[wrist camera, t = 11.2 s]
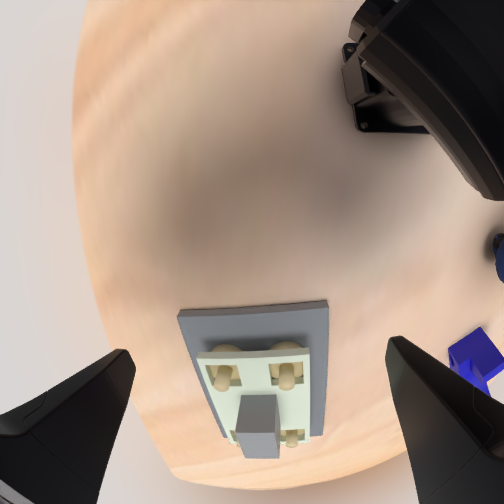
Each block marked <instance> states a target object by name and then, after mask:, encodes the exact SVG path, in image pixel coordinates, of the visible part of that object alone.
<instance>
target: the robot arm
mask: <svg viewBox="0 0 504 504" xmlns="http://www.w3.org/2000/svg"><path fill="white" fill-rule="evenodd" d="M348 37H350V38H351V39H352V40H354V41H355V42H356V43H346V44H345V45H344V46H343V48H342V53H343V57H344V62H345V65H344V66H343V67H342V74H343V79H344V84H345V90H346V96H347V102H348V103H349V104H351V105H352V106H353V113H354V120H355V126H356V129H357V130H358V131H359V132H362V133H415V134H431V135H432V136H433V137H434V139H435V140H436V141H437V142H438V143H439V145H440V146H441V147H442V148H443V150H444V151H445V152H446V153H447V155H448V156H449V157H450V159H451V160H452V161H453V163H454V164H455V165H456V167H457V168H458V170H459V171H460V172H461V174H462V175H463V177H464V178H465V180H466V181H467V182H468V183H469V184H470V185H471V186H472V187H473V188H475V189H476V190H477V191H479V192H480V193H481V195H482V197H484V198H486V199H490V200H494V201H504V0H366V1H365V2H364V3H363V5H362V6H361V7H360V8H359V10H358V11H357V13H356V14H355V16H354V17H353V19H352V21H351V26H350V31H349V36H348ZM358 42H359V43H358ZM347 48H351V49H352V51H353V52H349V51H348V50H347ZM361 122H364V123H365V124H366V128H365V129H363V128H362V127H361V126H360V124H361ZM385 362H386V367H387V372H388V377H389V381H390V387H391V392H392V397H393V401H394V405H395V408H396V412H397V415H398V418H399V422H400V425H401V429H402V432H403V436H404V440H405V443H406V447H407V451H408V455H409V459H410V463H411V467H412V471H413V476H414V480H415V485H416V490H417V494H418V500H419V503H420V504H504V404H502V403H500V402H499V401H497V400H495V399H494V398H492V397H491V396H489V395H488V394H486V393H485V392H483V391H482V390H480V389H479V388H477V387H474V385H473V384H471V383H470V382H469V381H467V380H466V379H464V378H463V377H461V376H460V375H459V374H457V373H456V372H454V371H453V370H451V369H450V368H448V367H447V366H445V365H444V364H443V363H441V362H440V361H438V360H437V359H435V358H434V357H432V356H431V355H429V354H428V353H427V352H425V351H424V350H422V349H421V348H419V347H418V346H416V345H415V344H413V343H412V342H410V341H409V340H407V339H406V338H404V337H403V336H394V337H391V338H389V340H388V345H387V350H386V355H385ZM135 373H136V366H135V364H134V362H133V360H132V358H131V356H130V354H129V352H128V351H127V350H126V349H116V350H114V351H112V352H111V353H109V354H107V355H106V356H104V357H103V358H101V359H99V360H98V361H96V362H95V363H93V364H91V365H89V366H88V367H86V368H85V369H83V370H81V371H79V372H78V373H76V374H75V375H73V376H71V377H69V378H68V379H66V380H64V381H63V382H61V383H59V384H58V385H56V386H54V387H53V388H51V389H50V390H48V391H46V392H44V393H43V394H41V395H39V396H38V397H36V398H34V399H33V400H31V401H28V402H27V403H24V404H23V405H21V406H18V407H16V408H14V409H12V410H10V411H8V412H6V413H4V414H1V415H0V504H96V503H97V500H98V496H99V491H100V488H101V484H102V481H103V478H104V474H105V471H106V468H107V464H108V461H109V458H110V455H111V451H112V448H113V445H114V442H115V439H116V436H117V433H118V430H119V427H120V424H121V421H122V418H123V416H124V413H125V410H126V407H127V404H128V400H129V396H130V392H131V388H132V384H133V380H134V376H135Z"/></svg>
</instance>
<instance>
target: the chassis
mask: <svg viewBox="0 0 504 504" xmlns="http://www.w3.org/2000/svg"><path fill="white" fill-rule="evenodd" d="M177 320H178V323H179V326H180V329H181V332H182V335H183V337H184V340H185V343H186V346H187V349H188V352H189V354H190V357H191V360H192V363H193V365H194V368H195V371H196V373H197V376H198V378H199V381H200V383H201V386H202V388H203V391H204V393H205V396H206V398H207V401H208V403H209V405H210V408H211V410H212V412H213V415H214V417H215V419H216V422H217V424H218V426H219V428H220V430H221V433H222V435H223V437H224V438H228V437H227V434H226V432H225V430H224V428H223V425H222V423H221V421H220V418H219V416H218V413H217V411H216V409H215V406H214V404H213V401H212V399H211V396H210V394H209V391H208V389H207V386H206V383H205V381H204V378H203V375H202V373H201V370H200V367H199V365H198V362H197V359H196V358H197V355H198V353H199V352H242V351H265V350H282V349H295V348H306V347H309V354H310V436H321V435H323V426H324V414H325V402H326V386H327V367H328V335H329V307H328V303H327V301H318V302H308V303H297V304H286V305H273V306H260V307H245V308H228V309H207V310H180V312H179V314H178V316H177ZM209 367H210V370H211V373H212V375H213V378H214V380H215V382H214V388H215V389H216V390H217V391H220V392H226V391H228V390H229V386H230V381H231V380H241V379H240V375H239V371H238V368H237V365H209ZM270 369H271V375H272V379H277V378H279V388H280V389H281V390H284V391H289V390H292V389H293V388H294V386H295V380H294V377H303V362H291V363H276V364H270ZM233 432H234V435H235V436H236V434H235V430H233ZM304 434H305V429H295V430H280V436H286V446H287V447H291V448H292V447H296V446H298V435H304ZM237 446H238V447H240V444H239V442H238V439H237ZM240 448H241V447H240Z"/></svg>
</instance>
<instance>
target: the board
mask: <svg viewBox="0 0 504 504" xmlns="http://www.w3.org/2000/svg"><path fill="white" fill-rule="evenodd" d="M196 359H197V362H198V365H199V367H200V370H201V373H202V375H203V378H204V381H205V383H206V386H207V389H208V391H209V394H210V396H211V399H212V401H213V404H214V406H215V409H216V411H217V413H218V416H219V418H220V421H221V423H222V425H223V428H224V430H225V432H226V434H227V437H228V439H229V441H230V443H231V444H237V439H238V442H239V444H240V447H241V449H242V451H243V454H244V456H245V458H263V459H266V458H279V452H280V444H286V436H280V430H295V429H305V434H304V435H298V444H299V443H309V440H310V354H309V347H306V348H295V349H282V350H265V351H242V352H199V353H198V355H197V358H196ZM291 362H303V377H294V380H295V386H294V388H293V389H292V390H289V391H284V390H281V389H280V388H279V378H277V379H272V375H271V369H270V364H276V363H291ZM209 365H237V368H238V371H239V375H240V379H241V380H231V381H230V386H229V390H228V391H226V392H220V391H217V390H216V389H215V388H214V382H215V380H214V378H213V375H212V373H211V370H210V367H209ZM233 430H235V434H236V436H235V435H234V432H233Z"/></svg>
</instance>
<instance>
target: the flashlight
mask: <svg viewBox="0 0 504 504" xmlns="http://www.w3.org/2000/svg"><path fill="white" fill-rule="evenodd" d="M493 249H494V254H495V257H496V262H495V265H496V271H497V274H498V277H499V279H500V280H501V281H502V282H503V283H504V233H500V234H497V235H496V237H495V238H494V242H493Z"/></svg>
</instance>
